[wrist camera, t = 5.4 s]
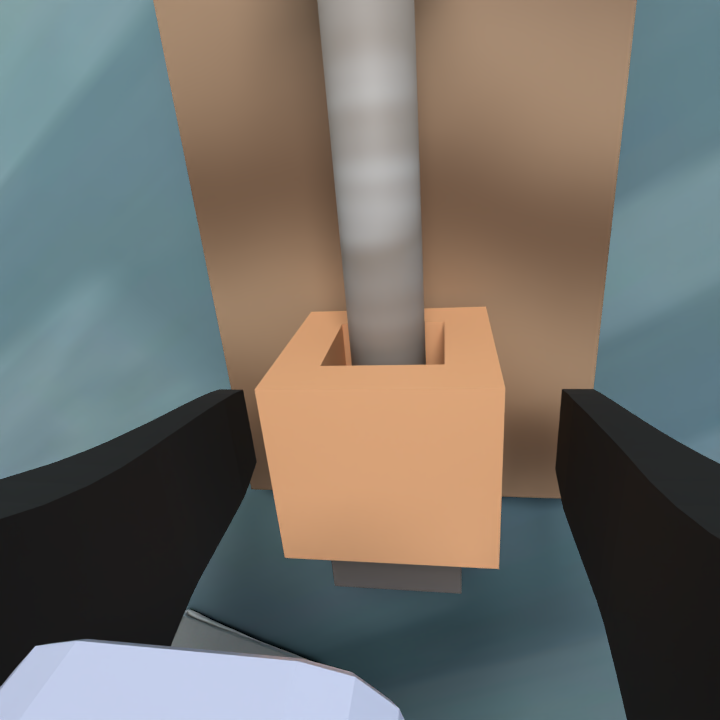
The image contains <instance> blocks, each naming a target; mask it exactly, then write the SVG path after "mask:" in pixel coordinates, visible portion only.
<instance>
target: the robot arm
mask: <svg viewBox="0 0 720 720" xmlns="http://www.w3.org/2000/svg"><path fill="white" fill-rule="evenodd" d="M256 463H257V460H256V455H255V450H254V445H253V439H252V434H251V429H250V423H249V418H248V413H247V407H246V402H245V397H244V392H243V390H216V391H213V392H210V393H208V394H206V395H203V396H201V397H199V398H197V399H195V400H193V401H190V402H188V403H186V404H184V405H182V406H180V407H178V408H176V409H174V410H172V411H170V412H168V413H167V414H165V415H163V416H161V417H159V418H157V419H155V420H153V421H151V422H149V423H147V424H144V425H142V426H140V427H138V428H136V429H134V430H132V431H129V432H127V433H125V434H123V435H121V436H119V437H117V438H115V439H112V440H110V441H108V442H106V443H103V444H101V445H99V446H96V447H94V448H91V449H89V450H87V451H84V452H81V453H79V454H76V455H73V456H71V457H68V458H65V459H63V460H60V461H57V462H54V463H52V464H49V465H45V466H42V467H39V468H36V469H33V470H29V471H26V472H23V473H20V474H16V475H13V476H10V477H7V478H4V479H0V720H404V718H403V716H402V713H401V711H400V709H399V708H398V707H397V706H396V705H395V704H394V703H393V702H392V701H391V700H390V699H389V698H387V697H386V696H385V695H383V694H382V693H381V692H379V691H378V690H376V689H375V688H374V687H372V686H371V685H369V684H368V683H367V682H365V681H364V680H362V679H361V678H360V677H358V676H357V675H356V674H354V673H353V672H350V671H346V670H342V669H339V668H335V667H331V666H328V665H324V664H320V663H317V662H313V661H309V660H306V659H302V658H291V657H280V656H269V655H258V654H247V653H236V652H225V651H215V650H204V649H193V648H182V647H171V645H172V642H173V639H174V637H175V634H176V632H177V629H178V627H179V625H180V622H181V620H182V617H183V615H184V613H185V610H186V608H187V605H188V603H189V601H190V598H191V596H192V594H193V592H194V590H195V588H196V585H197V583H198V581H199V579H200V577H201V575H202V574H203V572H204V570H205V568H206V566H207V564H208V563H209V561H210V559H211V557H212V555H213V554H214V552H215V550H216V548H217V546H218V545H219V543H220V541H221V539H222V537H223V536H224V534H225V532H226V530H227V528H228V526H229V525H230V523H231V521H232V519H233V517H234V515H235V513H236V512H237V510H238V508H239V506H240V504H241V502H242V500H243V498H244V496H245V494H246V491H247V488H248V486H249V483H250V480H251V478H252V475H253V472H254V469H255V466H256ZM555 471H556V476H557V481H558V486H559V491H560V495H561V500H562V504H563V509H564V512H565V515H566V518H567V520H568V523H569V526H570V529H571V532H572V534H573V537H574V540H575V543H576V545H577V548H578V551H579V554H580V556H581V559H582V562H583V564H584V567H585V570H586V573H587V575H588V578H589V581H590V584H591V586H592V589H593V592H594V594H595V597H596V600H597V603H598V606H599V609H600V612H601V616H602V619H603V622H604V626H605V630H606V634H607V638H608V642H609V646H610V650H611V654H612V658H613V662H614V666H615V670H616V674H617V678H618V683H619V687H620V691H621V695H622V700H623V704H624V708H625V713H626V717H627V720H720V464H719V463H717V462H715V461H713V460H711V459H709V458H707V457H705V456H703V455H701V454H700V453H698V452H696V451H694V450H692V449H690V448H689V447H687V446H685V445H683V444H681V443H680V442H678V441H676V440H674V439H673V438H671V437H669V436H668V435H666V434H664V433H662V432H661V431H659V430H658V429H656V428H654V427H653V426H651V425H649V424H648V423H646V422H645V421H643V420H642V419H640V418H638V417H637V416H635V415H634V414H632V413H631V412H629V411H628V410H626V409H625V408H623V407H621V406H620V405H618V404H617V403H615V402H614V401H612V400H611V399H609V398H608V397H606V396H604V395H603V394H601V393H599V392H598V391H596V390H594V389H562V394H561V406H560V418H559V430H558V442H557V454H556V466H555Z"/></svg>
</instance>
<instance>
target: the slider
mask: <svg viewBox="0 0 720 720" xmlns="http://www.w3.org/2000/svg"><path fill="white" fill-rule="evenodd" d="M424 319H425V350H426V365H360V366H352V362H351V351H350V341H349V330H348V320H347V311H324V312H311V313H310V314H309V315H308V317H307V318H306V320H305V321H304V322H303V324H302V325H301V326H300V328H299V329H298V331H297V332H296V333H295V335H294V336H293V337H292V339H291V340H290V342H289V343H288V344H287V346H286V347H285V348H284V350H283V351H282V353H281V354H280V355H279V357H278V358H277V359H276V361H275V362H274V364H273V365H272V366H271V368H270V369H269V370H268V372H267V373H266V374H265V376H264V377H263V379H262V380H261V381H260V383H259V384H258V385H257V387H256V388H255V395H256V400H257V406H258V411H259V417H260V423H261V428H262V434H263V439H264V445H265V450H266V456H267V461H268V467H269V472H270V478H271V483H272V489H273V494H274V500H275V505H276V511H277V516H278V522H279V528H280V533H281V539H282V544H283V550H284V555H285V558H299V559H318V560H337V561H356V562H375V563H395V564H414V565H433V566H452V567H471V568H490V569H499V553H500V525H501V497H502V469H503V441H504V413H505V385H504V380H503V376H502V372H501V368H500V364H499V359H498V355H497V351H496V347H495V343H494V338H493V334H492V330H491V326H490V322H489V317H488V313H487V309H486V307H455V308H424Z"/></svg>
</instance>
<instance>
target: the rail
mask: <svg viewBox="0 0 720 720" xmlns="http://www.w3.org/2000/svg"><path fill="white" fill-rule="evenodd" d="M153 1H154V6H155V11H156V16H157V21H158V26H159V31H160V36H161V41H162V46H163V51H164V56H165V61H166V66H167V71H168V76H169V81H170V86H171V91H172V96H173V101H174V106H175V111H176V116H177V121H178V126H179V131H180V136H181V141H182V146H183V151H184V156H185V161H186V166H187V170H188V175H189V180H190V185H191V190H192V195H193V200H194V205H195V210H196V215H197V220H198V225H199V230H200V235H201V240H202V245H203V250H204V255H205V260H206V265H207V270H208V275H209V280H210V285H211V290H212V295H213V300H214V305H215V310H216V315H217V320H218V325H219V330H220V335H221V340H222V345H223V350H224V355H225V360H226V365H227V370H228V375H229V380H230V385H231V390H243V392H244V397H245V402H246V407H247V413H248V418H249V423H250V429H251V434H252V439H253V445H254V450H255V455H256V460H257V463H256V466H255V469H254V472H253V475H252V478H251V480H250V484H251V489H260V490H273V489H272V483H271V478H270V472H269V467H268V461H267V456H266V450H265V445H264V439H263V434H262V428H261V423H260V417H259V411H258V406H257V400H256V395H255V388H256V387H257V385H258V384H259V383H260V381H261V380H262V379H263V377H264V376H265V374H266V373H267V372H268V370H269V369H270V368H271V366H272V365H273V364H274V362H275V361H276V359H277V358H278V357H279V355H280V354H281V353H282V351H283V350H284V348H285V347H286V346H287V344H288V343H289V342H290V340H291V339H292V337H293V336H294V335H295V333H296V332H297V331H298V329H299V328H300V326H301V325H302V324H303V322H304V321H305V320H306V318H307V317H308V315H309V314H310V313H311V312H324V311H347V320H348V330H349V341H350V351H351V362H352V366H360V365H426V350H425V319H424V308H455V307H486V309H487V313H488V317H489V322H490V326H491V330H492V334H493V338H494V343H495V347H496V351H497V355H498V359H499V364H500V368H501V372H502V376H503V380H504V385H505V413H504V441H503V469H502V497H531V498H561V495H560V491H559V486H558V481H557V476H556V471H555V466H556V454H557V442H558V430H559V418H560V406H561V394H562V389H593V387H594V378H595V369H596V360H597V351H598V342H599V333H600V324H601V315H602V306H603V297H604V288H605V280H606V271H607V262H608V253H609V244H610V235H611V226H612V217H613V208H614V199H615V190H616V181H617V172H618V163H619V154H620V145H621V136H622V127H623V118H624V110H625V101H626V92H627V83H628V74H629V65H630V56H631V47H632V38H633V29H634V20H635V11H636V2H637V0H153ZM331 561H332V568H333V576H334V583H335V586H345V587H361V588H378V589H394V590H411V591H427V592H444V593H460V594H461V567H452V566H433V565H414V564H395V563H375V562H356V561H337V560H331Z"/></svg>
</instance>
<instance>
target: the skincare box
mask: <svg viewBox="0 0 720 720" xmlns="http://www.w3.org/2000/svg"><path fill="white" fill-rule="evenodd" d="M171 647H182V648H193V649H204V650H215V651H225V652H236V653H247V654H258V655H269V656H280V657H291V658H302V657H300V656H297V655H295V654H292V653H290V652H287V651H284V650H282V649H279V648H277V647H274V646H271V645H269V644H266V643H263V642H261V641H258V640H256V639H253V638H251V637H249V636H247V635H244V634H242V633H240V632H238V631H236V630H234V629H231V628H229V627H226V626H224V625H222V624H220V623H217V622H215V621H213V620H211V619H209V618H207V617H205V616H203V615H201V614H199V613H197V612H195V611H193V610H190V609H189V610H186V611H185V613H184V615H183V617H182V620H181V622H180V625H179V627H178V629H177V632H176V634H175V637H174V639H173V642H172V645H171ZM302 659H305V658H302ZM306 660H307V659H306Z"/></svg>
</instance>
